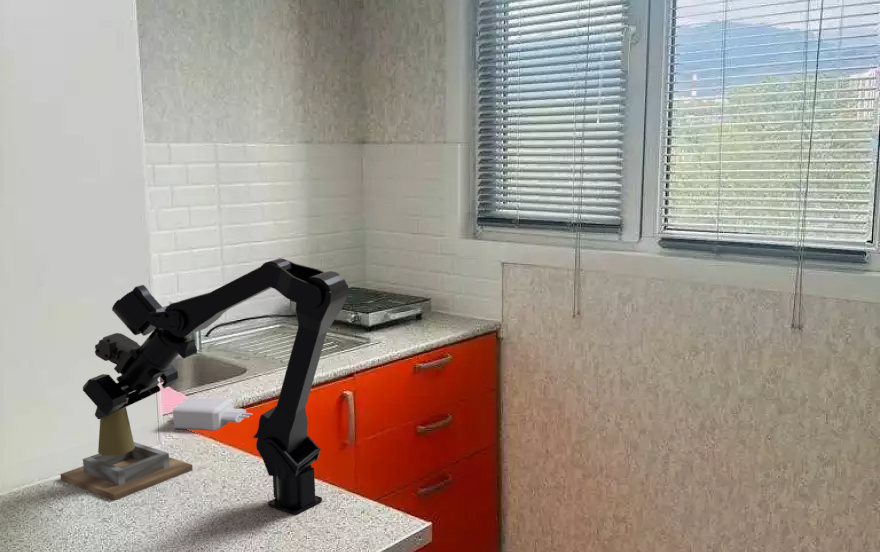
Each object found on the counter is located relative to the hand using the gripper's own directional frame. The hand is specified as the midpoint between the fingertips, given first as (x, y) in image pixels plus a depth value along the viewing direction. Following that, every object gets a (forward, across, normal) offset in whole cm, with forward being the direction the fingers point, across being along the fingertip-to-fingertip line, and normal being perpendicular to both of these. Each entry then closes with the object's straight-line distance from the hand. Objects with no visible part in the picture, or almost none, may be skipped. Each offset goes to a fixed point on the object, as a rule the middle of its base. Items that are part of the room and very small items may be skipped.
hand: (107, 412), depth 153 cm
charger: (+8, -31, +10) cm, 34 cm away
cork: (+4, 0, +6) cm, 7 cm away
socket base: (+8, -3, +9) cm, 13 cm away
